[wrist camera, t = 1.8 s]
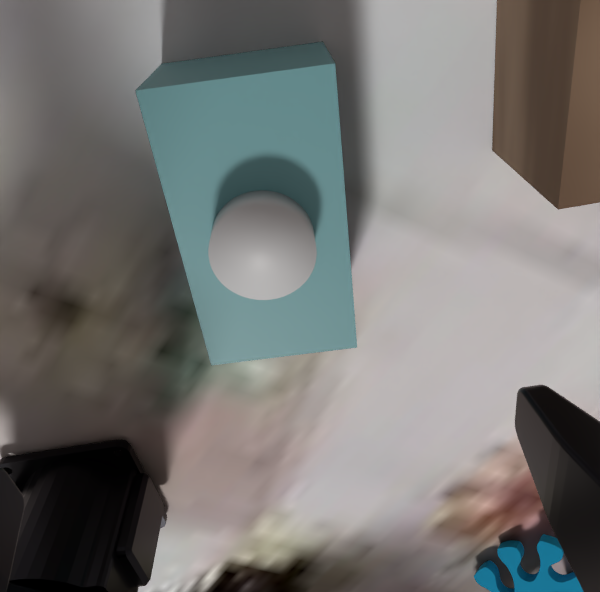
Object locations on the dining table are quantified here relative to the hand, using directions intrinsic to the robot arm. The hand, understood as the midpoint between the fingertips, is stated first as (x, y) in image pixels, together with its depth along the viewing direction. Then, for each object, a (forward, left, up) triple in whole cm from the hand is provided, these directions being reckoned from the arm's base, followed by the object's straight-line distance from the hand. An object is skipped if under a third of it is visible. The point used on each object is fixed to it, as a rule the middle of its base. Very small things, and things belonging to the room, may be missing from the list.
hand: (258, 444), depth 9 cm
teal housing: (0, 0, -12) cm, 12 cm away
